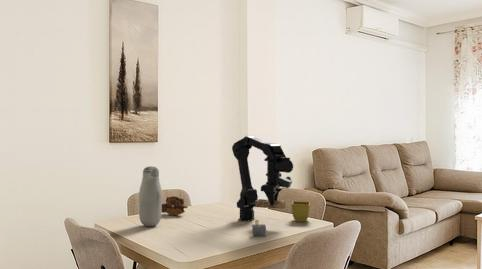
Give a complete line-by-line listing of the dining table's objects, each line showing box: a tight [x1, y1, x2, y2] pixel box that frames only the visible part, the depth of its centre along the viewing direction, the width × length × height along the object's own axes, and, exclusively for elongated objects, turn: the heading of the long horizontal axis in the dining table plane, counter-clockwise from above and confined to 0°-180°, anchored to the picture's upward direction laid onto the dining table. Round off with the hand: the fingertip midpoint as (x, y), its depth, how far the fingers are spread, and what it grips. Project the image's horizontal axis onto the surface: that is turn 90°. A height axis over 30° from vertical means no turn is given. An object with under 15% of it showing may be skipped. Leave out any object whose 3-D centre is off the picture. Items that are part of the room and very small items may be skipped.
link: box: [254, 198, 287, 210], centre depth 191 cm, size 13×5×3 cm, turn 67°
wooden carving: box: [161, 195, 189, 216], centre depth 217 cm, size 16×5×10 cm, turn 72°
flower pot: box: [291, 200, 311, 223], centre depth 204 cm, size 9×9×9 cm
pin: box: [254, 219, 260, 225], centre depth 186 cm, size 2×2×4 cm
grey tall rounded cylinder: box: [138, 165, 163, 227], centre depth 192 cm, size 10×10×28 cm
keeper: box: [251, 223, 267, 238], centre depth 175 cm, size 4×6×4 cm
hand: (273, 204), depth 190 cm, fingers closed on link, 4 cm apart
